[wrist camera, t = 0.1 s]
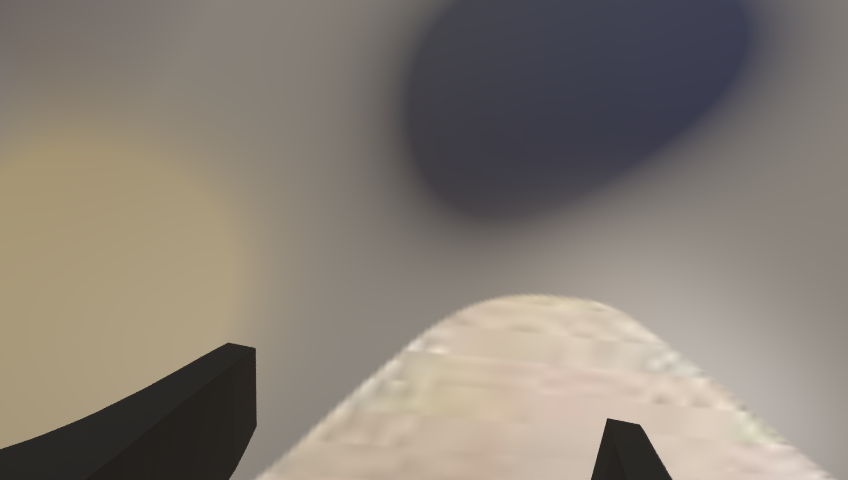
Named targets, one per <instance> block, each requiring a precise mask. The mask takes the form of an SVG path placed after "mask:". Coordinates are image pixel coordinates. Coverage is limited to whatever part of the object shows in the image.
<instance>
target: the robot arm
mask: <svg viewBox="0 0 848 480" xmlns="http://www.w3.org/2000/svg"><path fill="white" fill-rule="evenodd" d="M256 421H257V420H256V349H255V348H252V347H247V346H242V345H238V344H232V343H227V344H225V345H223V346H221V347H219V348H217V349H215V350H213V351H211V352H210V353H208V354H206V355H204V356H202V357H200V358H199V359H197V360H195V361H193V362H192V363H190V364H188V365H186V366H184V367H183V368H181V369H179V370H178V371H176V372H174V373H172V374H170V375H168V376H166V377H165V378H163V379H161V380H159V381H157V382H156V383H153V384H152V385H150V386H148V387H147V388H144V389H142V390H140V391H138V392H136V393H134V394H132V395H130V396H128V397H126V398H124V399H122V400H120V401H118V402H116V403H114V404H112V405H110V406H108V407H106V408H104V409H102V410H100V411H98V412H96V413H94V414H91V415H89V416H87V417H85V418H83V419H80V420H78V421H75V422H73V423H71V424H68V425H66V426H63V427H61V428H58V429H56V430H54V431H51V432H49V433H46V434H44V435H41V436H38V437H35V438H33V439H30V440H27V441H24V442H21V443H18V444H15V445H12V446H9V447H6V448H3V449H0V480H229V478H230V477H231V475H232V474H233V472H234V471H235V469H236V467H237V465H238V463H239V461H240V459H241V457H242V456H243V454H244V452H245V449H246V448H247V445H248V443H249V441H250V439H251V437H252V435H253V432H254V430H255V428H256V426H257V422H256ZM591 480H672V478H671V477H670V475H669V473H668V471H667V470H666V468H665V466H664V465H663V463H662V461H661V460H660V458H659V456H658V454H657V453H656V451H655V449H654V447H653V446H652V444H651V442H650V440H649V439H648V437H647V435H646V433H645V432H644V430H643V429H642V427H641V426H640V425H639V424H634V423H629V422H624V421H619V420H614V419H609V418H607V422H606V425H605V429H604V433H603V437H602V440H601V444H600V448H599V452H598V455H597V459H596V463H595V467H594V470H593V474H592V478H591Z"/></svg>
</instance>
